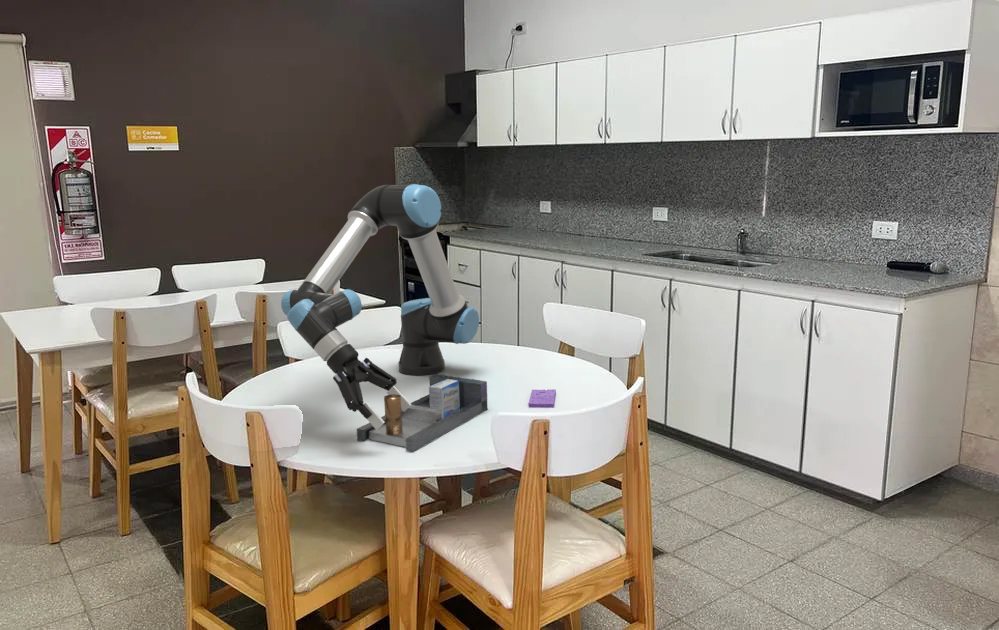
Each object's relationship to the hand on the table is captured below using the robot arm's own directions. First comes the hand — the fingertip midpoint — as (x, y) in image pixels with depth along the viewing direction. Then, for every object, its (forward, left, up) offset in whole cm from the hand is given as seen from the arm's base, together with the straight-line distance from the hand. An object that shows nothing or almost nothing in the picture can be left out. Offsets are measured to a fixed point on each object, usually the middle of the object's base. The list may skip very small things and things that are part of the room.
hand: (394, 417), depth 183 cm
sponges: (+18, +44, -7) cm, 48 cm away
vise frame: (-1, +13, -6) cm, 15 cm away
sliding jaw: (-1, +5, -6) cm, 8 cm away
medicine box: (-1, +22, -7) cm, 23 cm away
